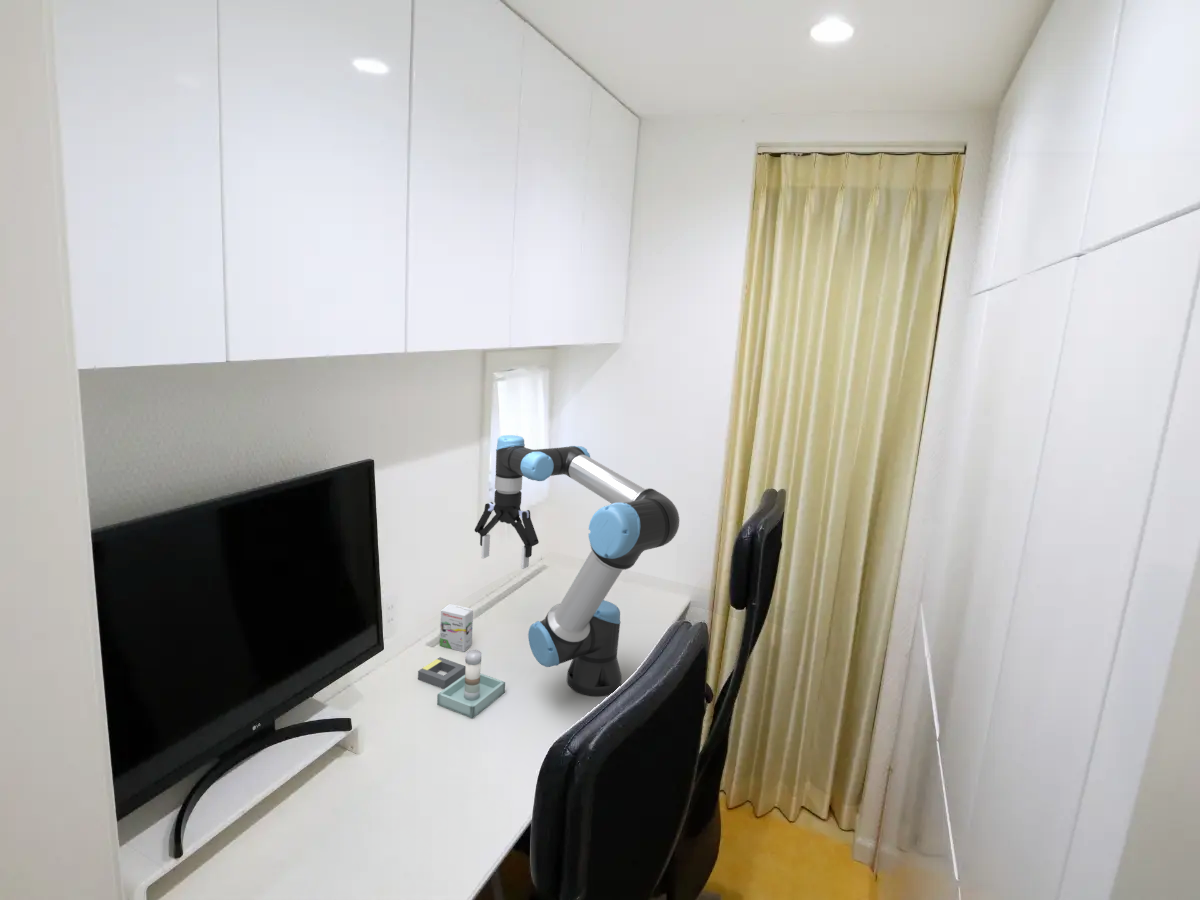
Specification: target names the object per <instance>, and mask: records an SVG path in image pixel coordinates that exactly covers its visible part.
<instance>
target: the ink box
mask: <svg viewBox="0 0 1200 900" xmlns="http://www.w3.org/2000/svg"><path fill="white" fill-rule="evenodd" d="M473 622H474V609H472V608H470V607H466V606H462V605H458V604H452V603H449V604H447V605H446V606H444V607H443V608H442V609H441V610H440V626H439V627H440V629H439V630H440V631H439V646H440V647H443V648H446V649H451V650H455V651H459V652H462V653H464V652H465V653H466V652H467V650H468V649H470V648H471V647H472V645H473Z"/></svg>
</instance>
